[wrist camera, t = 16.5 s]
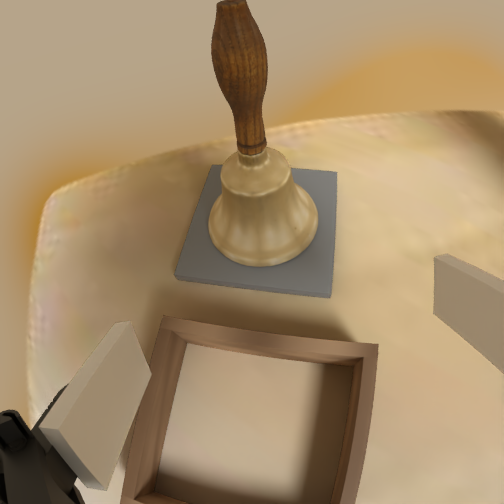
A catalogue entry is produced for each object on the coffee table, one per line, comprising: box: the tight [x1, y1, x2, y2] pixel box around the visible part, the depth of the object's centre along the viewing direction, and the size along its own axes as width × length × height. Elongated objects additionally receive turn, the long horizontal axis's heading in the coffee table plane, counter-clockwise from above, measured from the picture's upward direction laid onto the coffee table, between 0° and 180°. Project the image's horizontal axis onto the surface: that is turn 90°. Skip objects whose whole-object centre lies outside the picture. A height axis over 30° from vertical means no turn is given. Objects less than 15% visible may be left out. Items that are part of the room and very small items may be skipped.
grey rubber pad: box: [174, 165, 337, 298], centre depth 24 cm, size 11×11×1 cm
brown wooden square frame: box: [120, 315, 378, 504], centre depth 15 cm, size 13×13×3 cm
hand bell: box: [208, 0, 318, 267], centre depth 17 cm, size 8×8×16 cm
